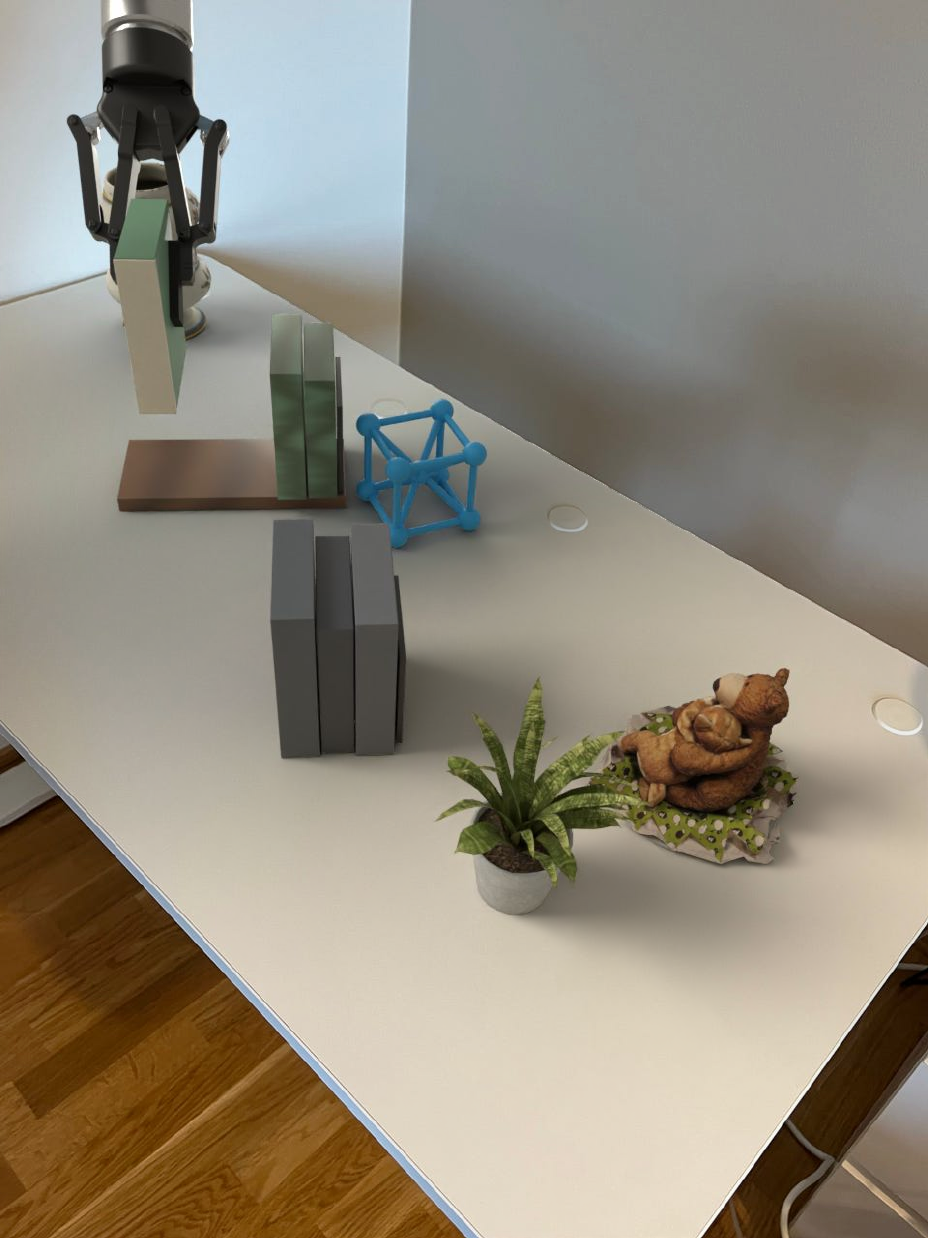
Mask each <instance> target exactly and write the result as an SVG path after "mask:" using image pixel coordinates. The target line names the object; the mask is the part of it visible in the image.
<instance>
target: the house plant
mask: <svg viewBox="0 0 928 1238" xmlns="http://www.w3.org/2000/svg"><path fill="white" fill-rule="evenodd" d="M540 679H541V676H538V678H537V679H536V680H535V683H534V685H533V687H532V688H531V691H530V693H529V695H528V698H527V703H526V705H525V708H524V712H523V717H522V721H521V726H520V728H519V729H520V730H519V733H518V735H517V739H516V743H515V747H514V751H513V756H512V768H513V774H512V773H511V768H510V765H509V762H508V759H507V756H506V752H505V748H504V746H503V744H502V742H501V740H500V739H499V737H498V736H497V734H496V733H495V731H494V730H493V728H492V727H491V725H490V724H488V722H486V721H485V719H483V718H482V717H481V716H479V715H478V714H476V713H475V712H474V711H472V710H470V713H471V715H472V717H473V720H474V722H475V723H476V725H477V726H478V727H479V729H480V733H481V738H482V740H483V742H484V744H485V746H486V748H487V750H488V751H489V753H490V756H491V758H492V761H493V764H494V766H491V765H490V766H489V765H477V764H476V763H474V761H472V760H471V759H469V758H466V757H464V756H463V757H462V756H457V755H456V756H455V755H454V756H453V755H452V756H451V755H449V756H445V758H446V759H447V760H446V761H447V767H448V769H449V770H447V771H446V773H449V774H451V775H452V776H453V777H458V778H459V779H460V780H462V781H464V782H465V783H466V784H468V785H469V786H471V787H472V788H474V789H475V790H477V791H478V792H479V793H480V795H481V796H483V798H484V799H485V800H483V802H482V801H480V800H477V799H474V798H464V799H461V800H460V801H457V802H456V803H454V805H452V806H451V807H449V808H447V809H446V810H445V811H443V812H441V813H440V814H439V816H438V817H437V819H436V820H434V821H433V823H435V822H438V821H441V820H443V819H445V818H447V817H449V816H450V817H451V816H452V815H455V814H457V813H459V812H463V811H464V810H468V809H472V808H476V810H474V813H473V815H472V817H471V820H470V824H469V825H468V826H466V827H464V828H462V830H461V832H460V834H459V838H458V841H457V845H456V848H455V851H454V852H453V854H457V853H463V854H467V855H472V859H473V867H474V873H475V880H476V881H475V882H476V886H477V890H478V893H479V895H480V897H481V898H482V900H483V901H484V902H485V903H486V904H487V906H489V907H490V908H492V909H494V910H495V911H496V912H500V913H503V914H506V915H514V916H517V915H525V914H527V913H530V912H533V911H534V910H536V909H537V908H538V907H540V906H541V905H542V904H543V902H544V901H545V900H546V898H547V896H548V894H549V893H550V890H552V887H553V886H554V888H555V890H557V889H558V876H559V875H560V873H562V874H564V876H566V877H567V878H568V879H569V881H570V882H571V884H572V888H575V883H576V878H577V874H578V863H577V859H576V858H575V854H574V853H573V852H572V849H573V846H574V831H573V830H599V829H605V828H609V827H619V828H621V829H622V828H623V827H622V826H621V824H619V822H618V821H617V820H621V821H628V820H631V819H630V818H628V817H626V816H623V815H622V814H621V813H619V812H618V811H617V810H626V809H625V808H623V807H621V806H619V805H617V804H619V803H621V804H630V805H651V804H650V803H648V802H645V801H642V800H639V799H636V798H634V797H630V796H625V795H620V794H615V793H614V791H613V790H611V789H609V788H608V787H606V786H603V785H589V784H588V785H584V786H579V787H576V788H572V789H569V790H566V791H565V792H562V791H563V790H564V789H565V788H566V787H567V786H568V785H569V784H570V783H571V782H573V781H576V780H579V779H582V778H592V777H594V776H595V777H599V778H604V779H608V780H612V781H615V782H619V783H622V784H626V785H629V786H633V787H637V788H641V789H645V790H649V789H646V788H643V787H640V786H637V785H635V784H632V783H629V782H627V781H625V780H623V779H620V778H617V777H614V776H610V775H606V774H601V773H596V772H594V771H593V772H590V771H586V770H588V769H590V767H592V766H593V765H594V763H595V761H596V760H597V758H598V757H599V755H600V754H601V752H602V751H603V750H604V749H605V748H607V747H608V746H610V745H612V744H613V743H615V742H617V739H618V737H619V736H620V735H623V734H624V732H627V731H625V730H618V731H613V732H609V733H605V734H602V735H600V736H597V737H595V738H593V739H591V736H592V735H594V733H590V734H589V735H587V736H585V737H583V739H581V740H580V741H578V742H577V743H576V744H575V745H573V746H572V747H571V748H570V749H569V750H568V751H567V752H565V754H563V755H561V757H559V758H558V759H556V760H555V761H554V762H552V763H551V764H550V765H549V766H548V767H547V768H546V769H544V771H543V772H542V773H541V774H540V775H539V776H538V777H537V779H536V778H535V777H536V770H537V765H538V760H539V756H540V752H541V750H543V749H544V748H546V747H547V746H548V745H550V744H551V743H552V742H554V741H556V739H557V738H558V737H559V735H558V736H556V737H554V738H551V740H549V741H547V742H545V743H543V744H542V742H543V738H544V734H545V728H546V715H545V712H544V708H543V691H544V690H543V687H542V683H541V680H540ZM590 739H591V740H590ZM589 740H590V741H589ZM483 770H486V771H491V772H492V773H493V772H494V773H496V776H497V780H498V785H499V787H500V790H501V792H499V791H498V789H497V787H496V786H495V784H494V783H493V782H492V781H491V779H489V776H487V775H486V774H485V772H483ZM535 779H536V780H535ZM650 791H651V790H650ZM560 792H562V793H560ZM559 793H560V794H559ZM652 806H653V805H652ZM605 808H607V809H605ZM608 808H610V809H613V810H610V809H608ZM616 809H617V810H616ZM614 810H616V811H614ZM627 811H628V810H627ZM632 821H633V820H632Z"/></svg>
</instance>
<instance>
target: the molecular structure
mask: <svg viewBox="0 0 928 1238" xmlns="http://www.w3.org/2000/svg"><path fill="white" fill-rule="evenodd" d="M454 413H455V409H454V406H453V403H452V402H451V401H449V400H448V399H445V398H439V399H436V400H435V401H433V403H431V406H430V409H425V410H420V411H414V412H409V413H404V414H397V415H393V416H387V417H382V418H379V417H378V416H377V415H376V414H375V413H372V412H363V413H362V414H360V415H359V416H358V417H357V419H356V422H355V427H356V431H357V432H358V434H359V435H360V436H362V437H364V438H363V439H364V441H363V442H364V443H363V445H364V446H363V447H364V451H363V452H364V453H363V454H364V456H363V463H364V464H363V465H364V466H363V473H364V475H363V476H364V477H363V478H362V479H361V480H360V481H358V483H357V484H356V488H355V490H356V491H355V492H356V495H357V496H358V498H359V499H360V500H362V501H363V502H370V503H371V505H372V506H373V507H374V509H375V511H376V512H377V514H378V516H379V517H380V519H381V520H382V522H383V524H385V523H388V524H389V526H390V537H391V547H392V548H395V549H396V548H401V547H403V546H405V544H406V543H407V542H408V540H409V537H412V536H417V535H421V534H422V535H423V534H426V533H430V532H434V531H435V532H436V531H439V530H443V529H448V528H451V527H456V526H457V527H458V526H459V527H460V528H461V530H464V531H467V532H468V531H469V532H471V531H474V530H476V529H477V528H478V527H479V526H480V524H481V520H482V517H481V513H480V511H479V510H477V509H476V508H474V507H475V498H476V495H475V494H476V488H477V487H476V486H477V477H478V476H477V474H478V467H480V466H482V465H483V464H484V463H485V462H486V460H487V457H488V452H487V451H488V450H487V448H486V446H485V445H484V444H483V443H481V442H479V441H470V439H469V438H468V437H467V436H466V434H465V433H464V432H463V430H462V429H461V428H460V427H459V425H458V424H457V422H456V421H455V419H454V418H453V416H454ZM428 418H431V419H433V423H432V426H431V429H430V431H429V434H428V437H427V438H426V439H427V440H426V442H425V445H424V448H423V451H422V453H421V455H420V459H419V460H415V461H413V460H412V459H411V458H410V457H409V456H408V455H407V454H406V453H405V452H404V451H403V450H401V449H400V448H399V447H398V446H397V445H396V444H395V443H394V442H393V441H392V440H391V439H390V438H389V437H388V436H386V435H385V434H384V433H383V432H382V431H381V427H385V426H391V425H396V424H401V423H407V422H411V421H412V422H413V421H417V420H422V419H423V420H424V419H428ZM446 425H447V427H449V429H450V430H451V432H452V433H453V434H454V435H455V437H456V438H457V439H458V440H459V442H460V443H461V445H462V447H463V448H462V452H459V453H454V454H449V455H445V456H444V443H445V431H446V430H445V427H446ZM435 441H436V442H435ZM373 442H374V443H375V444H376V446H377V448H378V450H379V451H380V452H381V454H382V455H383V457H384V458H385V460H386V462H387V463H386V464H385V468H384V473H385V475H386V477H387V479H384V480H381V481H378V482H377V481H376V480H375V479H373V477H372V475H373V474H372V473H373V471H372V470H373ZM434 445H435V457H434V458H430V456H431V453H432V450H433V448H434ZM429 458H430V459H429ZM462 463H465V464H466V465H467V466H469V469H468V470H469V471H468V479H467V481H468V482H467V491H466V492H467V493H466V503H465V504H466V505H465V504H464V503H463V502H462V501H461V499H460V498H459V496H458V495H457V494H456V492H455V490H454V489H453V488H452V485H450V484H449V482H448V481H449V480H450V471H449V469H448V468H450V467H453V466H455V465H459V464H462ZM409 485H410V486H409ZM419 485H420V486H421V485H426V486H427V487H429V488H430V489H431V490H432V491H433V492H434V493H435V494H436V495H437V496H438V497H439V498H440V499H441V500H442V501H443V502H445V504H447V505H448V506H449V507H450V508H451V509H452V511H454V512H455V513H456V514H457V517H454V518H450V519H445V520H441V521H436V522H432V523H427V524H424V525H419V526H414V527H410V528H407V527H405V524H406V521H407V518H408V516H409V513H410V510H411V508H412V505H413V502H414V500H415V496H416V494H417V491H418V488H419ZM404 486H409V489H408V490H407V494H406V497H405V499H404V502H403V504H402V487H404ZM392 489H393V493H392V495H393V496H392V519H391V518H390V516H389V515H388V513H387V511H386V509H385V508H384V506H383V505H382V503H381V502H380V500H379V499H378V496H379V495H380V492H382V491H386V490H392Z"/></svg>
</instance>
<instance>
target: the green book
mask: <svg viewBox="0 0 928 1238" xmlns="http://www.w3.org/2000/svg"><path fill="white" fill-rule="evenodd" d="M168 240H172V241H173V238H172V230H171V222H170V214H169V206H168V200H167V199H131V201H130V204H129V208H128V211H127V215H126V218H125V222H124V225H123V229H122V232H121V236H120V239H119V243H118V246H117V250H116V253H115V257H114V260H113V262H114V268H115V274H116V280H117V286H118V292H119V298H120V303H119V304H120V310H121V315H122V322H123V321H124V327H123V328H124V332H125V339H126V344H127V351H128V356H129V362H130V369H131V374H132V380H133V386H134V391H135V397H136V404H137V409H138V410H137V411H138V414H139V415H177V413H178V403H179V397H180V391H181V386H182V379H183V372H184V366H185V359H186V354H187V341H186V340H187V339H186V340H185V332H184V324H183V327H174V325H173V323H172V321H171V319H170V300H169V255H168Z"/></svg>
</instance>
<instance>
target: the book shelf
mask: <svg viewBox="0 0 928 1238" xmlns="http://www.w3.org/2000/svg"><path fill="white" fill-rule="evenodd" d="M302 316H303V315H302V314H301V313H299V314H298V313H272V314H271V329H270V353H269V357H270V358H269V387H270V403H271V417H272V433H273V438H238V439H237V438H233V439H232V438H229V439H228V438H223V439H222V438H219V439H218V438H217V439H211V438H209V439H208V438H207V439H205V438H204V439H203V438H201V439H200V438H199V439H196V438H195V439H194V438H193V439H129V440H128V442H127V443H128V444H127V446H126V447H127V448H126V451H125V457H124V461H123V468H122V473H121V477H120V483H119V486H118V492H117V495H116V496H117V497H116V501H117V507H118V511H119V512H139V511H140V512H141V511H142V512H147V511H150V512H151V511H154V512H155V511H225V510H228V511H229V510H294V509H295V510H297V509H299V510H300V509H301V510H302V509H305V510H306V509H307V510H308V509H347V507H348V506H347V505H348V504H347V500H348V498H347V496H348V495H347V477H346V476H347V475H346V457H345V456H346V455H345V439H344V404H343V403H344V402H343V384H342V382H343V381H342V362H341V356H335V337H334V336H335V335H334V323H333V322H304V323H303V318H302Z"/></svg>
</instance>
